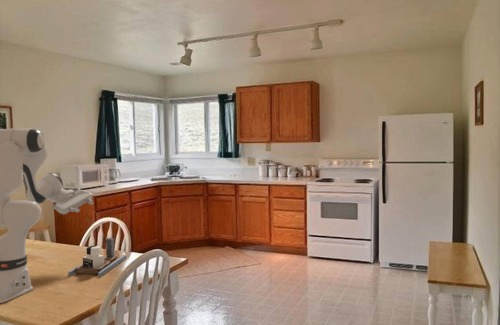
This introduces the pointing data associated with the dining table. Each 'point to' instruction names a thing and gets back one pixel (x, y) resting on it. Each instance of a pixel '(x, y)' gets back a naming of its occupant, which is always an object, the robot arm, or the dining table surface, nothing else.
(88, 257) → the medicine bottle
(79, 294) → the dining table surface
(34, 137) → the robot arm
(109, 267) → the guide rails
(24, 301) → the dining table surface
